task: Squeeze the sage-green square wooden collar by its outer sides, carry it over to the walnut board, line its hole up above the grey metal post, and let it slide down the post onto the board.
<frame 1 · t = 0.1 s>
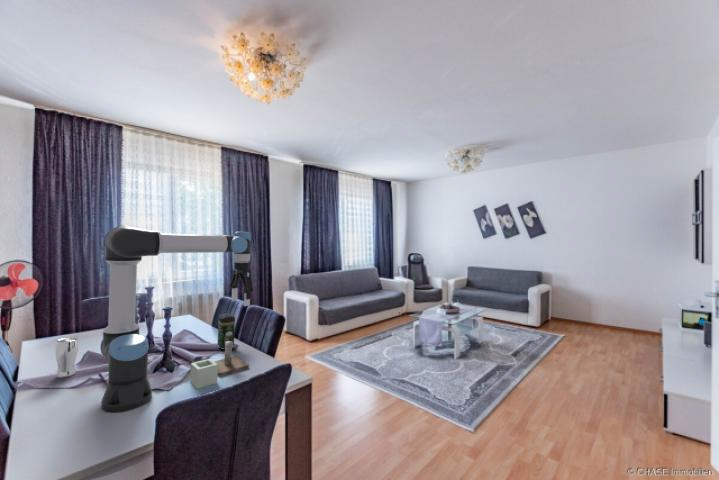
hand: (240, 303, 162), 28 cm above the table, tool pointing down, fingers open, 13 cm apart
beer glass: (66, 375, 135), on the table
coffee jar: (225, 347, 174), on the table
post board: (227, 367, 150), on the table
collar: (203, 382, 134), on the table
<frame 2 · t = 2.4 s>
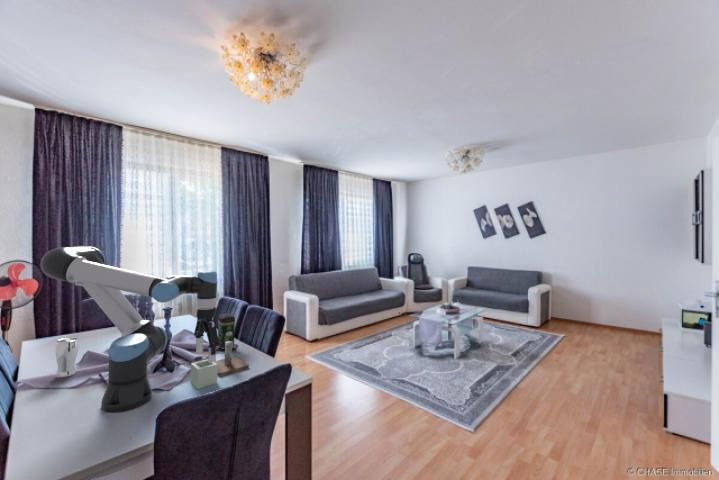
hand: (205, 357, 134), 11 cm above the table, tool pointing down, fingers open, 13 cm apart
nothing on the table moved.
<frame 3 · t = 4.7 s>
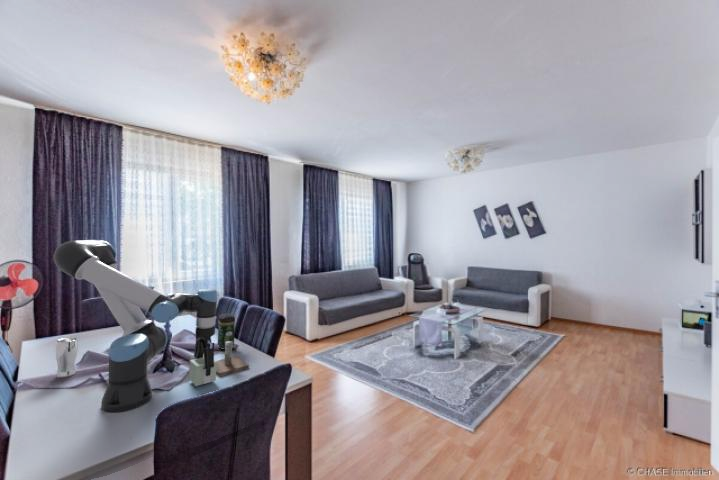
hand: (202, 378, 134), 2 cm above the table, tool pointing down, fingers closed on collar, 8 cm apart
collar: (202, 379, 134), point 1 cm above the table, touching gripper
everything else where it was.
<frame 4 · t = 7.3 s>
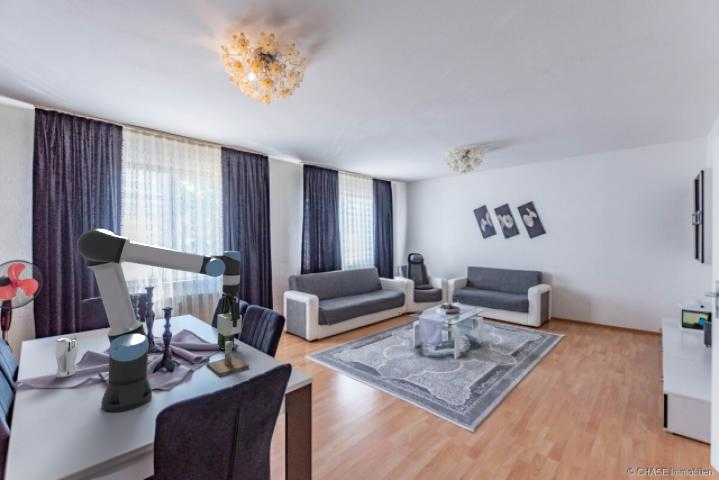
hand: (229, 331, 149), 17 cm above the table, tool pointing down, fingers closed on collar, 8 cm apart
collar: (229, 331, 149), point 17 cm above the table, touching gripper
everything else where it was.
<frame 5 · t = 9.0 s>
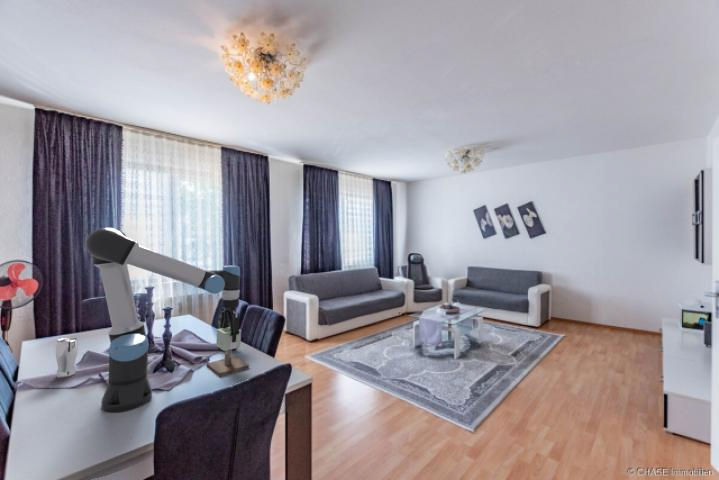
hand: (228, 345, 150), 10 cm above the table, tool pointing down, fingers closed on collar, 8 cm apart
collar: (228, 346, 150), point 10 cm above the table, touching gripper
everything else where it was.
when the fingers open (10 cm above the table, at t = 9.9 s): collar drops 8 cm, resting on post board.
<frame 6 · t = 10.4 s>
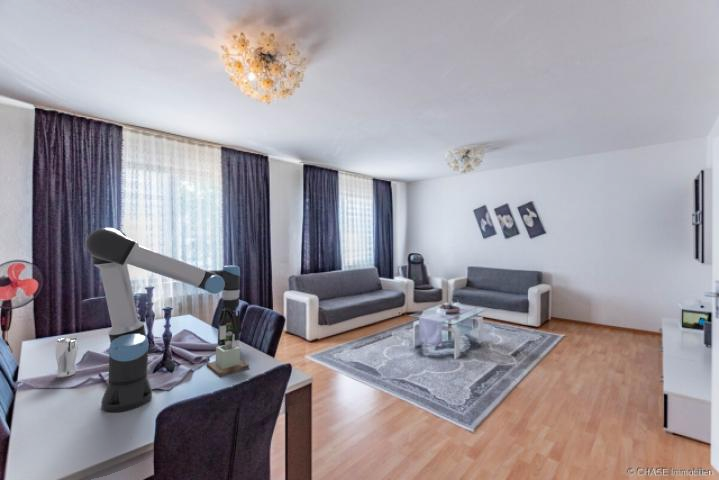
hand: (228, 342, 150), 12 cm above the table, tool pointing down, fingers open, 13 cm apart
collar: (227, 364, 150), point 1 cm above the table, touching post board
everything else where it was.
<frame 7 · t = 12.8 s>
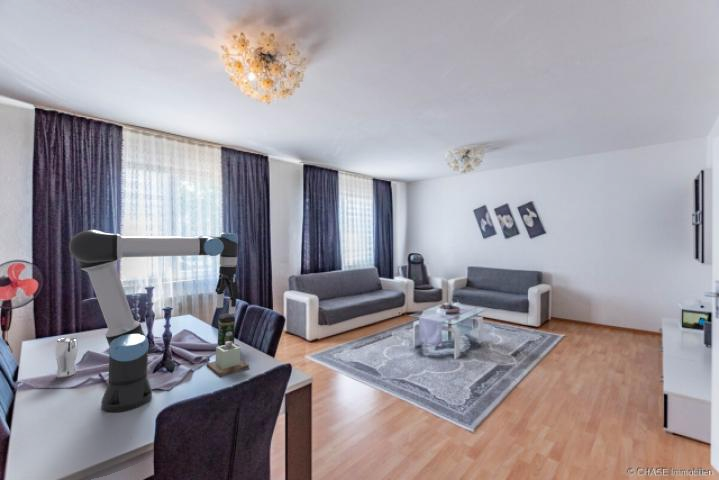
hand: (225, 310, 149), 27 cm above the table, tool pointing down, fingers open, 13 cm apart
nothing on the table moved.
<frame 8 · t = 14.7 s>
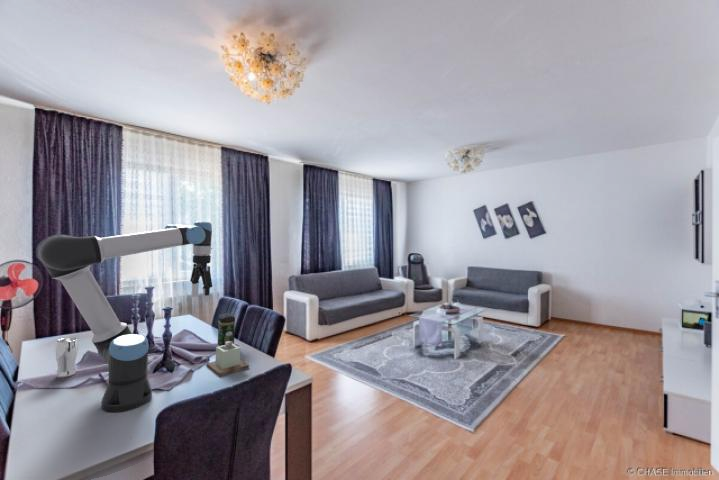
hand: (200, 299, 149), 32 cm above the table, tool pointing down, fingers open, 13 cm apart
nothing on the table moved.
at the end: collar 0.2 cm from the post board (horizontally); collar point 1.5 cm above the table; collar tilted 0° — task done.
